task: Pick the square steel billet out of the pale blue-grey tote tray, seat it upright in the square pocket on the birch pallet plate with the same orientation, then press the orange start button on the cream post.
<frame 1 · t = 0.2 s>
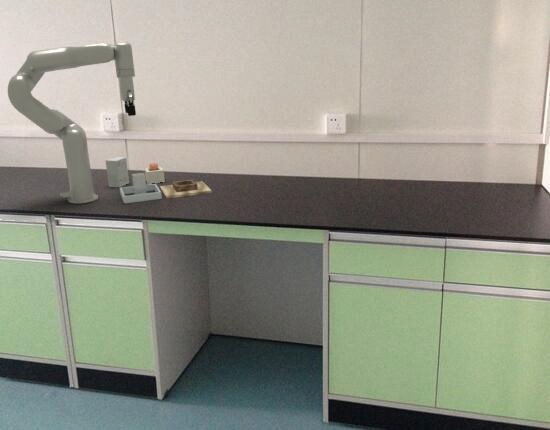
hand: (130, 114, 238), 36 cm above the countertop, tool pointing down, fingers open, 9 cm apart
button post: (155, 181, 268), on the countertop
pallet plate: (185, 190, 250), on the countertop
steel billet: (139, 185, 242), in the tote tray
small box: (119, 185, 264), on the countertop
start button: (153, 167, 266), point 7 cm above the countertop, slide at 0.0 cm
tote tray: (140, 196, 244), on the countertop
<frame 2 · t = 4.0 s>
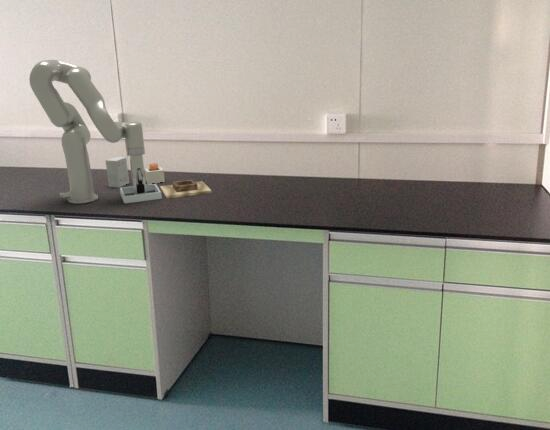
hand: (140, 191, 243), 2 cm above the countertop, tool pointing down, fingers closed on steel billet, 5 cm apart
steel billet: (139, 185, 242), in the tote tray, touching gripper
everything else where it was.
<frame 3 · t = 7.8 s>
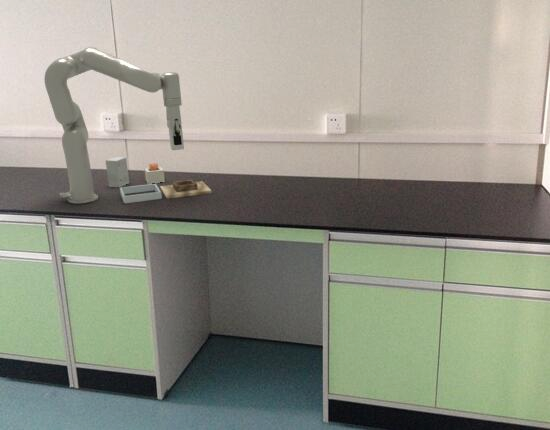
hand: (176, 143, 243), 22 cm above the countertop, tool pointing down, fingers closed on steel billet, 5 cm apart
steel billet: (176, 137, 242), point 25 cm above the countertop, touching gripper
everything else where it was.
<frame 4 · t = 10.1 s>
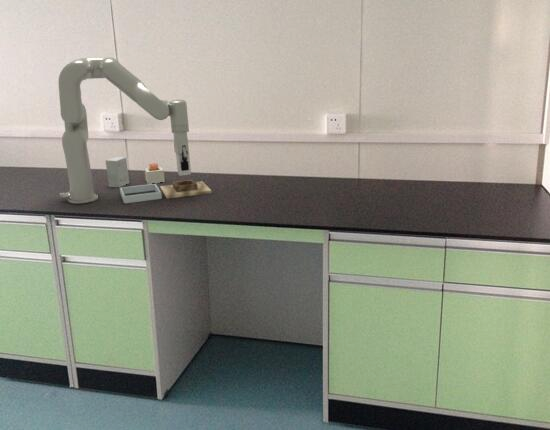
hand: (183, 168, 247), 10 cm above the countertop, tool pointing down, fingers closed on steel billet, 5 cm apart
steel billet: (183, 162, 246), point 13 cm above the countertop, touching gripper
everything else where it was.
when the fingers open (5 cm above the countertop, at t = 12.0 s): steel billet drops 1 cm, resting on pallet plate.
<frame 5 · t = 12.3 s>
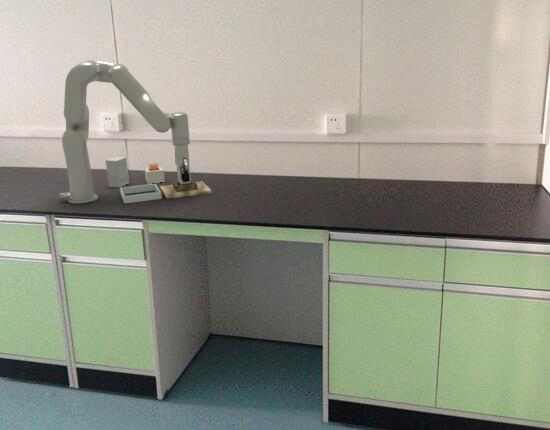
hand: (184, 179, 248), 5 cm above the countertop, tool pointing down, fingers open, 7 cm apart
steel billet: (184, 177, 248), in the pallet plate, point 6 cm above the countertop
everything else where it was.
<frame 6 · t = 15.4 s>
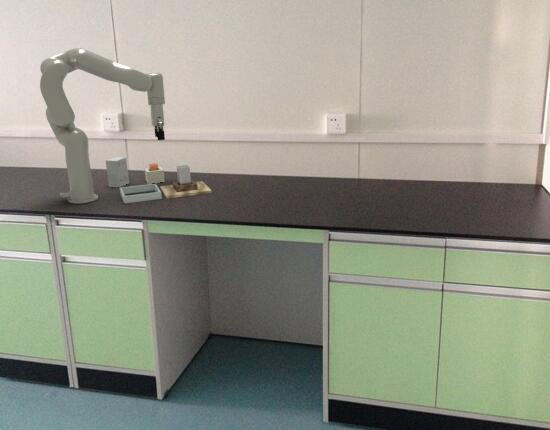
hand: (160, 138, 256), 22 cm above the countertop, tool pointing down, fingers open, 9 cm apart
nothing on the countertop moved.
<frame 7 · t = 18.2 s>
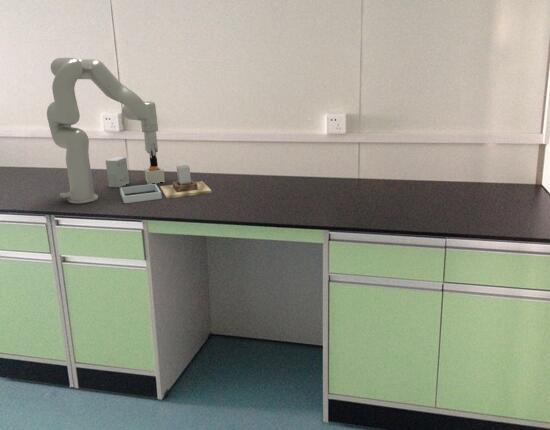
hand: (154, 165, 266), 8 cm above the countertop, tool pointing down, fingers closed
start button: (154, 169, 266), point 6 cm above the countertop, slide at 0.9 cm, touching gripper
everything else where it was.
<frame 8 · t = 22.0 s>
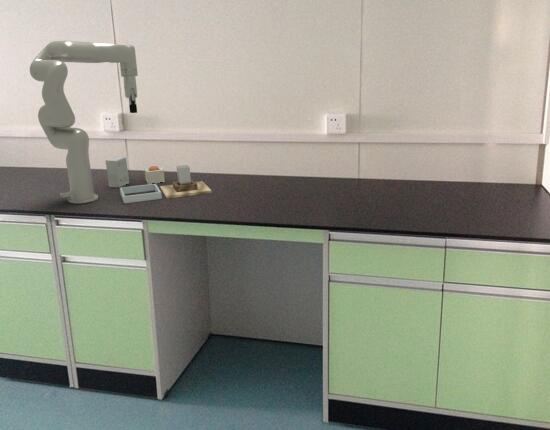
hand: (133, 112, 261), 33 cm above the countertop, tool pointing down, fingers closed
start button: (154, 170, 267), point 6 cm above the countertop, slide at 1.4 cm
everything else where it was.
at the end: steel billet 0.1 cm off-centre on the pallet plate, point 6.2 cm above the pallet plate's base; steel billet tilted 0°; start button slide at 1.4 cm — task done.
